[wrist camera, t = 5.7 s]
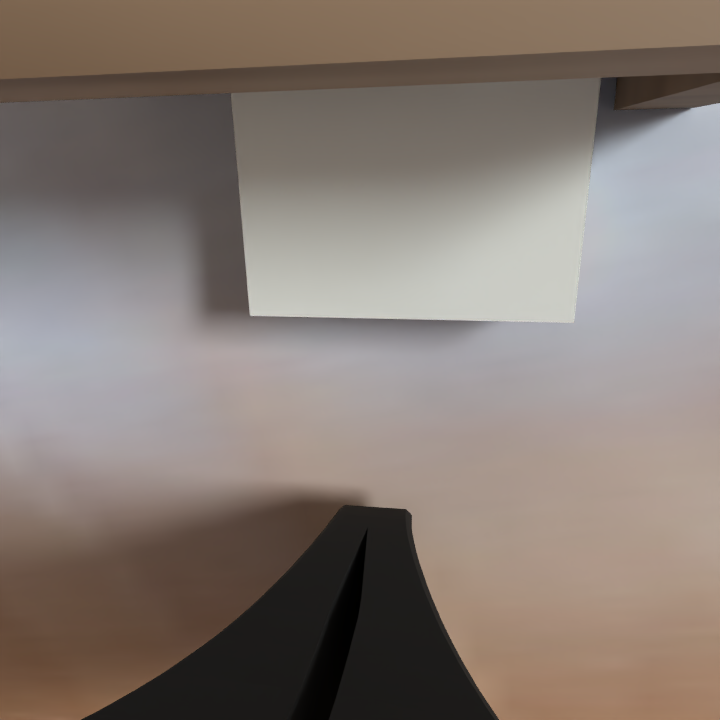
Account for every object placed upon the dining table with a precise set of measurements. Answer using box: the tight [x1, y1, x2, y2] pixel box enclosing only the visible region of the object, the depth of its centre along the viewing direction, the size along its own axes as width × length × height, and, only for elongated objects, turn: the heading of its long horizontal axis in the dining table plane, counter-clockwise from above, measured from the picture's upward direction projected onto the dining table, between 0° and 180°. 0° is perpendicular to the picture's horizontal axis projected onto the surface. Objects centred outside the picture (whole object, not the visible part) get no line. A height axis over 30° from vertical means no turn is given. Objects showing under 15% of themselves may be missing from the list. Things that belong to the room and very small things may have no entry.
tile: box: [231, 78, 601, 323], centre depth 8 cm, size 9×5×2 cm, turn 1°
